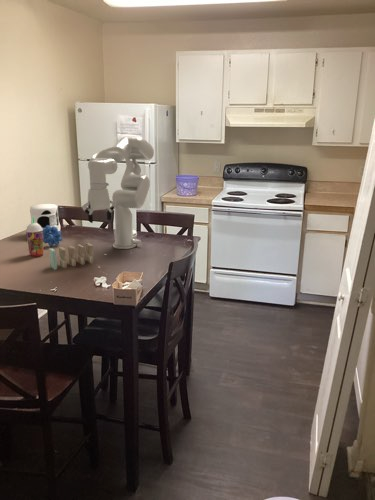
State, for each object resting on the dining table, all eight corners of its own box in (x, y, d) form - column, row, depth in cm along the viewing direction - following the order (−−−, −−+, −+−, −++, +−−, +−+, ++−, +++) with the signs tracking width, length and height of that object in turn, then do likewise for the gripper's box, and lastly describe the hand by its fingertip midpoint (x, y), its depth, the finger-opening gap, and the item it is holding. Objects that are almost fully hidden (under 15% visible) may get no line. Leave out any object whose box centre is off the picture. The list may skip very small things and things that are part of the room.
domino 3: (72, 263, 214) (71, 245, 212) (75, 265, 210) (74, 248, 208) (69, 263, 214) (67, 245, 211) (72, 266, 210) (71, 248, 207)
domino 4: (81, 261, 217) (80, 244, 214) (84, 264, 213) (83, 246, 210) (77, 262, 216) (76, 244, 213) (81, 264, 212) (80, 247, 209)
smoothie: (35, 258, 220) (31, 220, 214) (24, 255, 224) (20, 218, 218) (48, 254, 227) (45, 217, 221) (37, 252, 231) (34, 215, 225)
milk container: (34, 232, 271) (32, 203, 265) (63, 231, 273) (61, 203, 267) (27, 239, 254) (25, 209, 249) (58, 239, 256) (56, 209, 251)
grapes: (40, 249, 236) (38, 227, 233) (40, 245, 243) (39, 224, 239) (62, 247, 240) (61, 226, 236) (62, 244, 246) (61, 223, 242)
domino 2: (63, 264, 212) (62, 246, 209) (66, 267, 208) (65, 249, 205) (60, 265, 211) (58, 247, 209) (63, 267, 207) (62, 249, 205)
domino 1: (54, 266, 210) (52, 248, 207) (57, 269, 206) (55, 250, 203) (50, 266, 209) (49, 248, 206) (53, 269, 205) (52, 251, 202)
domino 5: (89, 260, 219) (88, 242, 217) (93, 262, 215) (92, 245, 213) (86, 260, 218) (85, 243, 216) (90, 263, 214) (89, 245, 212)
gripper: (111, 183, 217) (113, 217, 222) (78, 186, 208) (80, 221, 213) (118, 185, 211) (119, 220, 216) (83, 189, 202) (85, 225, 207)
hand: (100, 221), depth 215 cm, fingers open, 9 cm apart
